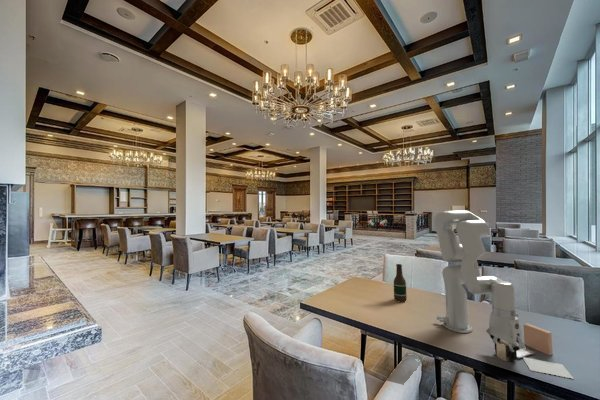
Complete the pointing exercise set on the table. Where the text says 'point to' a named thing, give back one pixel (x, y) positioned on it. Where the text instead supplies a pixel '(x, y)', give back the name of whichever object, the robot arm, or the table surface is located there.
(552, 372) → the mat
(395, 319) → the table surface
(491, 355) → the table surface
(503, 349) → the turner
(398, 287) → the beer bottle
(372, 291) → the table surface
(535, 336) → the tile
